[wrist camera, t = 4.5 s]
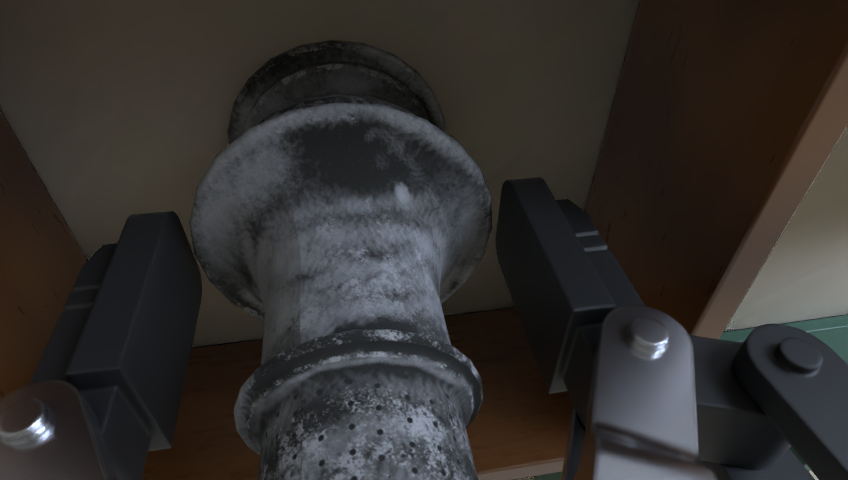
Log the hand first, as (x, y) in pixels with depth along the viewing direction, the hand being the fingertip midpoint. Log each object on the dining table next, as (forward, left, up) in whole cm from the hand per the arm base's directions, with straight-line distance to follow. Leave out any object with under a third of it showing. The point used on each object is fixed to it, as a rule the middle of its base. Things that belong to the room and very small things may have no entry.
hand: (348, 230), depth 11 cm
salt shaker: (0, 0, -3) cm, 3 cm away
